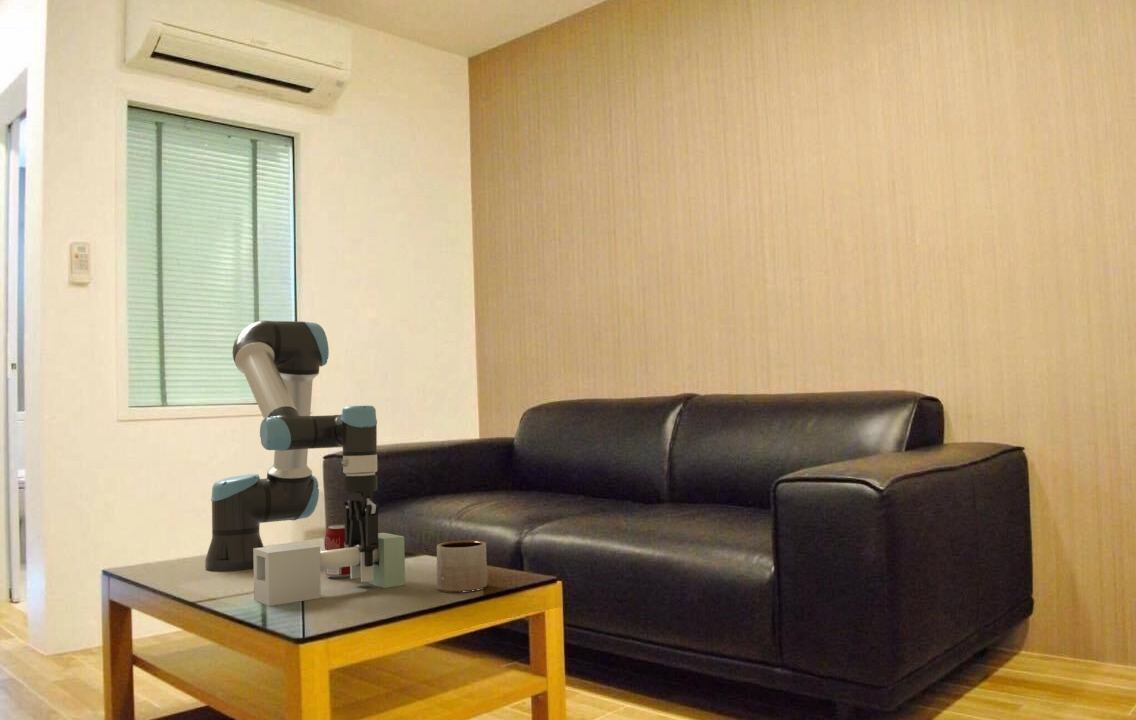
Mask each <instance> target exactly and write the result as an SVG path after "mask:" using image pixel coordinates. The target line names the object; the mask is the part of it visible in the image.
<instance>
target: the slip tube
mask: <svg viewBox="0 0 1136 720" xmlns="http://www.w3.org/2000/svg"><path fill="white" fill-rule="evenodd" d="M361 549H362V545H355V546H354V547H350V548H342V549H335V550H327V551H326V550H320V571H324V570H325V571H326V569H333V568H340V567H347V566H354V565H355V566H360V551H359V550H361ZM375 562H379V544H378V548H377V549H375V550H374V551H373V563H375Z"/></svg>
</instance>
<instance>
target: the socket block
mask: <svg viewBox="0 0 1136 720" xmlns="http://www.w3.org/2000/svg"><path fill="white" fill-rule="evenodd" d="M378 544H379V562H375V563H373V576H374V580H373V581H366V582H365V583H366V584H370V585H373V586H376V587H379V588H380V587H381V588H383V589H388V588H393V587H401V586H404V585H406V568H405V567H406V565H405V559H406V558H405V554H406V553H405V536H403V535H398V534H392V533H387V532H380V533H379V532H378Z"/></svg>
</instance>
